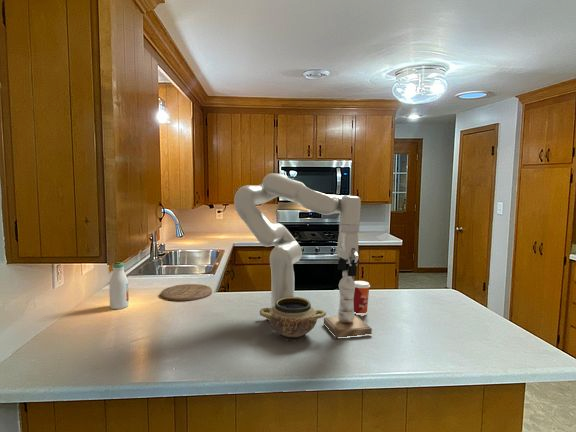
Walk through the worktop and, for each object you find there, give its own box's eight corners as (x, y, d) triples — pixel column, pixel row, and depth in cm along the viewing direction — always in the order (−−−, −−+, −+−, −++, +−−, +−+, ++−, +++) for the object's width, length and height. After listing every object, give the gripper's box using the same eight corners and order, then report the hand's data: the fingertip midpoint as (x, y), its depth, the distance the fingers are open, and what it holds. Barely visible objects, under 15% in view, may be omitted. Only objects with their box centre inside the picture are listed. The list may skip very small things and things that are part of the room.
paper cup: (364, 318, 154) (365, 286, 153) (348, 314, 159) (349, 283, 158) (372, 313, 160) (373, 282, 159) (356, 309, 165) (357, 279, 164)
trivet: (217, 288, 197) (217, 285, 197) (202, 303, 172) (202, 299, 172) (173, 286, 199) (173, 283, 199) (151, 300, 175) (151, 297, 174)
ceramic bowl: (255, 348, 131) (253, 312, 126) (266, 319, 147) (264, 286, 142) (324, 354, 127) (324, 317, 122) (327, 323, 143) (327, 290, 138)
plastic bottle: (334, 323, 140) (336, 272, 138) (341, 317, 146) (342, 268, 144) (351, 326, 137) (352, 274, 135) (356, 320, 143) (358, 270, 141)
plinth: (336, 339, 133) (336, 330, 132) (323, 325, 146) (323, 317, 146) (371, 336, 136) (371, 327, 136) (356, 322, 149) (356, 314, 149)
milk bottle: (123, 309, 161) (122, 265, 159) (106, 309, 161) (105, 265, 159) (131, 304, 168) (130, 261, 167) (115, 303, 168) (114, 261, 167)
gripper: (331, 225, 145) (329, 267, 147) (348, 231, 128) (346, 279, 130) (349, 225, 147) (347, 267, 149) (368, 231, 130) (365, 278, 132)
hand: (346, 272), depth 139 cm, fingers open, 9 cm apart
